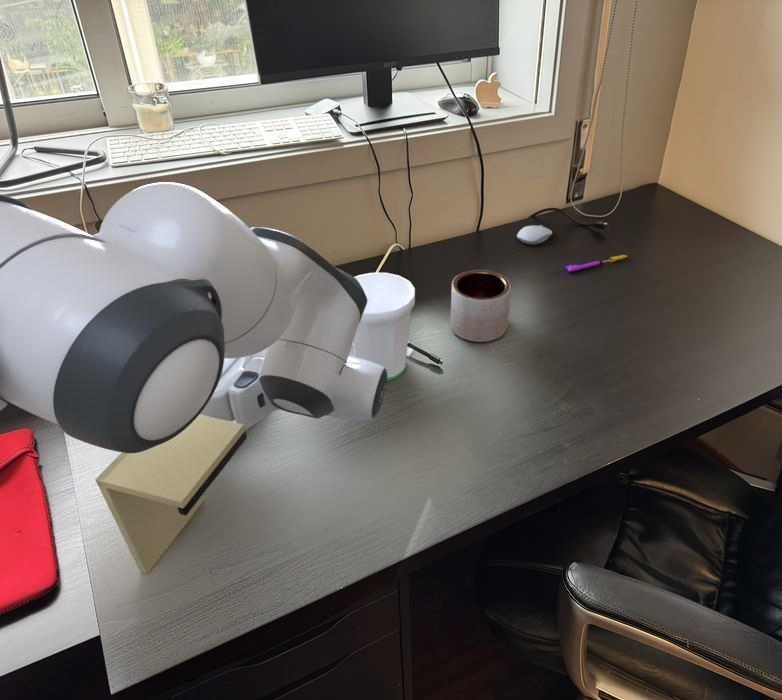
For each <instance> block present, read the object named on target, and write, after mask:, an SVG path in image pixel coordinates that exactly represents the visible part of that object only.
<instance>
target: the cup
mask: <svg viewBox="0 0 782 700" xmlns="http://www.w3.org/2000/svg"><path fill="white" fill-rule="evenodd" d="M353 277H354V278H356V279H357V280H358V282H359V283H360V285H361V286H362V288H363V290H364V292H365V295H366V297H367V304H366V307H365V310H364V312H363V315H362V317H361V320H360V322H359V324H358V327H357V330H356V333H355V337H354V340H353V343H352V347H353V351H354V356H355V357H359V358H362V359H365V360H368V361H371V362H374V363H377V364H379V365H382V366H384V367H385V368H386V372H387V382H388V381H392V380H394V379H396V378H398V377H399V376H401V375H402V374H403V373H404V372H405V370H406V367H407V365H406V364H407V354H408V343H409V332H410V325H411V324H410V323H411V312H412V309H413V308H414V307H415V305H416V288H415V286H414V284H413V283H412V282H411V281H410V280H409V279H406V278H405V277H402V276H401V275H398V274H394V273H390V272H368V273H363V274H359V275H356V276H353Z"/></svg>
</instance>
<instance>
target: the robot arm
mask: <svg viewBox="0 0 782 700" xmlns="http://www.w3.org/2000/svg"><path fill="white" fill-rule="evenodd" d="M354 277H355V276H353V275H351V274H350V273H348V272H345V271H343V270H342V269H340V268H338V267H336V266H334V265H333V263H331V262H330V261H328V259H326V258H325V257H324V256H322V255H321V254H320V253H319V252H318V251H317V250H315V249H313V248H312V247H311V245H308V244H307V243H306V242H304V241H303V240H302V239H300V238H298V237H297V236H294V235H293V234H290V233H287V232H285V231H282V230H279V229H273V228H268V227H260V226H253V227H249V226H248V225H247V224H246V223H245V222H244V221H242V220H241V218H239V217H238V216H237V215H236V214H234V213H233V212H231V210H229V209H228V208H227V207H226V206H224V205H222V204H221V203H220V202H218V200H215V199H214V198H212V197H211V196H209V195H208V194H206V193H204V192H203V191H201V190H198V189H197V188H194V187H192V186H189V185H186V184H183V183H177V182H166V181H165V182H155V183H150V184H146V185H142V186H139V187H137V188H135V189H132V190H131V191H129V192H128V193H126V194H124V195H123V196H121V198H119V199H118V200H117V201H116V202H115V203H114V204H113V205H112V206H111V208H110V209H109V210H108V211H107V213H106V215H105V216H104V218H103V220H102V222H101V224H100V227H99V231H98V233H95V234H92V235H91V234H89V233H87V232H85V231H83V230H81V229H79V228H77V227H75V226H72V225H70V224H68V223H65V222H63V221H61V220H59V219H56V218H54V217H51V216H48V215H46V214H44V213H41V212H39V211H36V210H35V209H34V208H33V207H31V206H30V205H29V204H27V203H25V202H24V201H21V200H19V199H16V198H14V197H10V196H7V195H5V194H0V411H2V410H3V409H5V408H6V407H7V406H8V403H10V404H13V405H14V406H15V407H18V408H19V409H22V410H24V411H26V412H28V413H29V414H32V415H34V416H36V417H38V418H40V419H42V420H45V421H47V422H50V423H52V424H54V425H57V426H59V427H60V429H61V430H62V431H63V432H64V433H65V434H66V435H67V436H69V437H70V438H73V439H75V440H78V441H81V442H83V443H86V444H88V445H92V446H95V447H97V448H100V449H104V450H109V451H113V452H118V453H122V452H123V453H139V452H142V451H145V450H148V449H150V448H153V447H155V446H157V445H160V444H162V443H164V442H167V441H169V440H170V439H172V438H174V437H175V436H177V435H178V434H180V433H181V432H182V431H183V430H185V429H186V428H187V427H188V426H189V425H190V424H191V423H192V422H193V421H194V420H195V419H196V418H197V417H198V416H199V415H204V416H208V417H212V418H217V419H221V420H225V421H230V422H232V421H234V420H235V421H236V423H238V424H242V425H244V428H249V429H250V428H251V427H253V426H255V425H256V424H257V423H259V422H260V421H262V420H263V419H265V418H266V417H267V416H269V415H271V414H272V413H274V412H276V411H278V410H281V411H284V412H287V413H291V414H296V415H301V416H305V417H308V418H309V417H310V418H314V419H317V420H318V419H320V418H323V417H331V418H332V417H333V418H338V419H345V420H346V419H347V420H355V421H371V420H373V419H374V418H375V417H376V416H377V415H378V413H380V409H381V407H382V406H383V401H384V399H385V394H386V391H387V384H388V381H387V372H386V368H385V367H384V366H382V365H379V364H377V363H374V362H371V361H368V360H365V359H362V358H359V357H356V356H355V355H351V354H350V353H351V349H352V347H353V340H354V337H355V333H356V330H357V327H358V324H359V322H360V320H361V317H362V315H363V312H364V310H365V307H366V304H367V297H366V295H365V292H364V290H363V288H362V286H361V285H360V283H359V282H358V280H357V279H356V278H354ZM7 402H8V403H7Z"/></svg>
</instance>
